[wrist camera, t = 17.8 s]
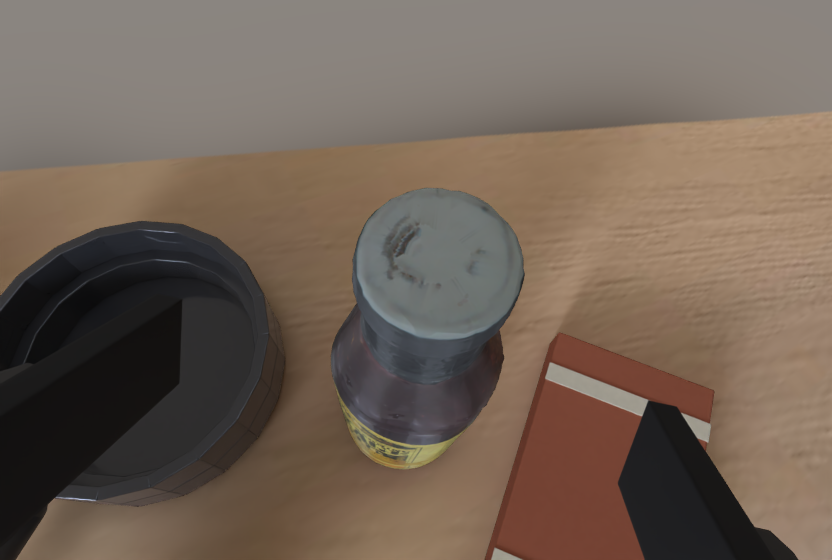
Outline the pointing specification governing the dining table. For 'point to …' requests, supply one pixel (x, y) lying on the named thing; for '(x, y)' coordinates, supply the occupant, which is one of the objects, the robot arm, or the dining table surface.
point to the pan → (199, 361)
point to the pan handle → (20, 538)
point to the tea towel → (584, 454)
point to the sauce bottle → (424, 323)
